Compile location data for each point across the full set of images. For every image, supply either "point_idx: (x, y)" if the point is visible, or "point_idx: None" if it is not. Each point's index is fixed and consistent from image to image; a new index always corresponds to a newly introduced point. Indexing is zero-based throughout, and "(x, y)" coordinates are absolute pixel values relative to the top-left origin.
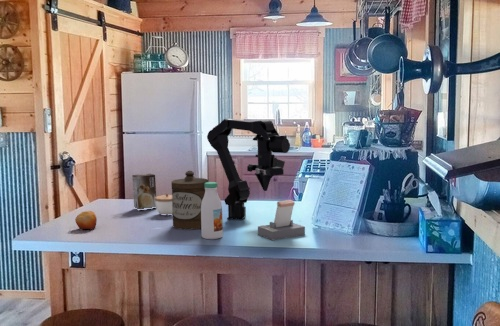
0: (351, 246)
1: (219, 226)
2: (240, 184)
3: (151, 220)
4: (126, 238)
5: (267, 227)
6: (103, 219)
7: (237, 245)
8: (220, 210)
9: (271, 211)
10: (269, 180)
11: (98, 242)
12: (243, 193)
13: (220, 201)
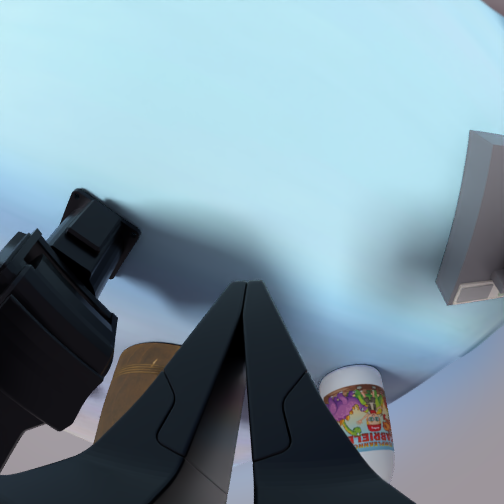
0: None
1: (386, 403)
2: (48, 399)
3: (96, 397)
4: (245, 447)
5: (491, 290)
6: (82, 422)
7: (460, 354)
8: (392, 445)
9: (11, 24)
10: (333, 425)
11: (250, 460)
12: (80, 335)
13: (387, 471)
